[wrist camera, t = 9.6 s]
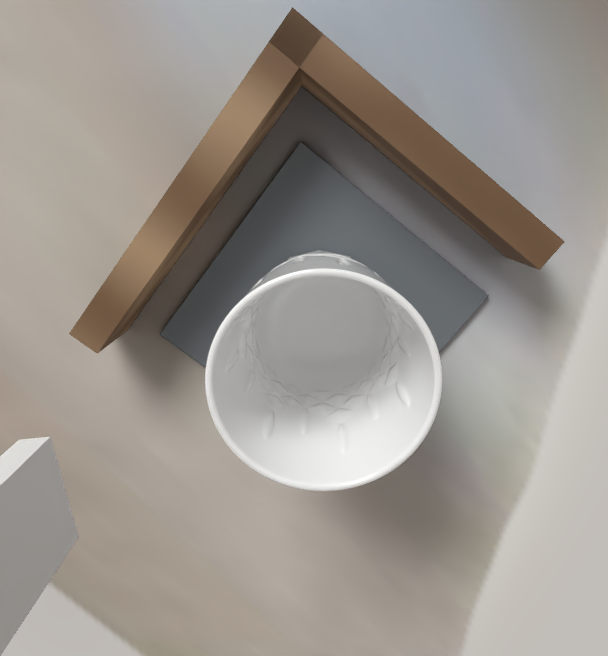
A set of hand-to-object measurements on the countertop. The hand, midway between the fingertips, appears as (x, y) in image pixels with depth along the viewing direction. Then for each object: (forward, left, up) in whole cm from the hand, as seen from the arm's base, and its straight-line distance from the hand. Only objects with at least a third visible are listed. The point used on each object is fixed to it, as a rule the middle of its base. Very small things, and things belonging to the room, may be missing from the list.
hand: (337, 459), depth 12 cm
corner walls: (-1, -2, -16) cm, 16 cm away
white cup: (0, 0, -16) cm, 16 cm away
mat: (0, 0, -16) cm, 16 cm away
